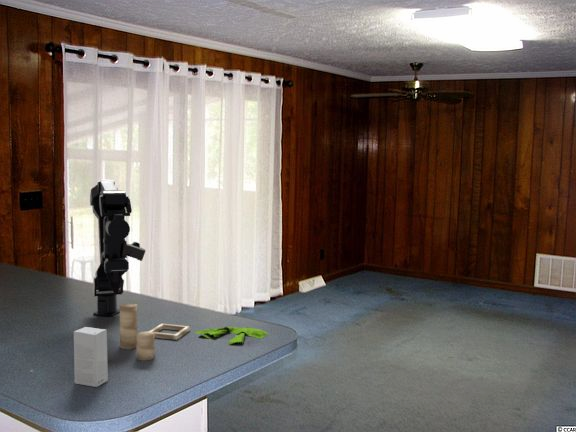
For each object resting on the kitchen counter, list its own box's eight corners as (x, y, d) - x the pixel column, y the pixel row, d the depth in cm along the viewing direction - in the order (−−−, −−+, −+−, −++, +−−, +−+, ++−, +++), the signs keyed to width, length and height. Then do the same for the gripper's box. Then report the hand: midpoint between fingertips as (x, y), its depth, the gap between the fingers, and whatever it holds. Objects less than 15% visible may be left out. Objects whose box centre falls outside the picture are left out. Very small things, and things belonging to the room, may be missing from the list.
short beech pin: (141, 353, 150) (141, 330, 149) (157, 355, 148) (157, 332, 148) (133, 359, 145) (133, 336, 145) (149, 361, 144) (149, 337, 144)
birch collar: (161, 327, 172) (161, 323, 171) (189, 330, 169) (190, 326, 169) (147, 336, 163) (147, 332, 163) (176, 339, 161) (176, 335, 161)
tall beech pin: (125, 342, 157) (125, 303, 156) (140, 344, 156) (140, 304, 155) (116, 348, 153) (116, 307, 152) (132, 349, 152) (131, 308, 151)
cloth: (278, 335, 169) (278, 327, 169) (236, 357, 150) (236, 348, 150) (220, 323, 179) (221, 315, 179) (174, 342, 160) (174, 334, 160)
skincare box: (108, 380, 131) (107, 329, 130) (96, 387, 127) (95, 334, 126) (86, 376, 133) (85, 326, 132) (73, 383, 129) (72, 331, 128)
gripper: (147, 238, 159) (147, 295, 160) (139, 230, 176) (140, 281, 178) (104, 240, 155) (105, 297, 157) (101, 231, 173) (101, 283, 174)
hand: (114, 289), depth 166 cm, fingers open, 9 cm apart
